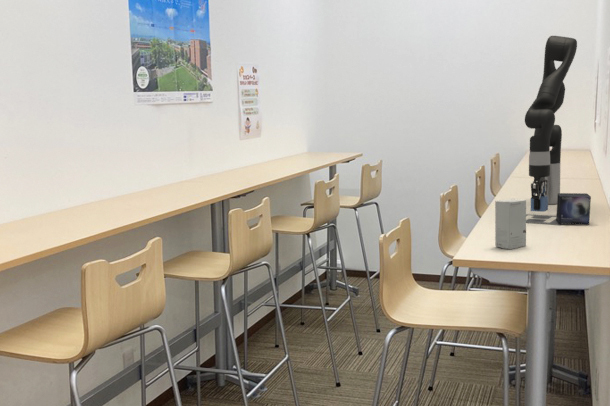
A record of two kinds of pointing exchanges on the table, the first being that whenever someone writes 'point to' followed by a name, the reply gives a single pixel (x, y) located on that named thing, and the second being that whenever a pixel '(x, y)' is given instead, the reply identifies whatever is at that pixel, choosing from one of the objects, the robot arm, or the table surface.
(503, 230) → the skincare box
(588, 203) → the small box
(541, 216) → the letter board
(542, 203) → the blue cube
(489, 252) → the table surface
